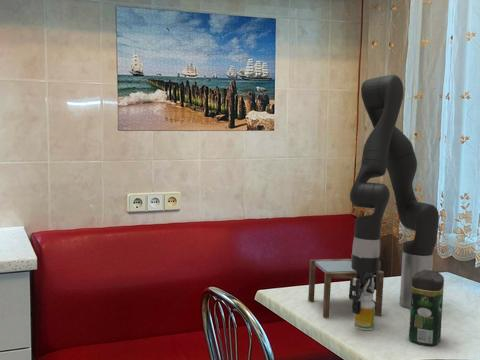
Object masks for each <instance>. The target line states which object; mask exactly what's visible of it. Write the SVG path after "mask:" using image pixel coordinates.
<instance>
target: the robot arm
mask: <svg viewBox="0 0 480 360" xmlns="http://www.w3.org/2000/svg"><path fill="white" fill-rule="evenodd" d="M360 92H361V93H360V94H361V99H362V102H363V105H364V108H365V111H366V112H367V115H368V117H369V120H370V122H371V124H372V127H373V130H371V132H370V133H369V135H368V137H367V138H366V140H365V143H364V145H363V150H362V156H361V163H360V168H359V171H358V173H357V176H356V178H355V179H354V182H353V184H352V186H351V190H350V193H349V199H350V202H351V204H352V205H353V206H354V207H357V208H365V209H374V211H373V213H372V214H365V215H359V216H357V217H356V219H355V221H354V235H353V241H352V265H351V267H352V269H353V270H355V271H356V272H357V273H356V277H355V278H352V277H351V278H349V291H348V299H349V300H352V306H351V307H352V309H351V313H353V314H354V315H355V314H360V311H361V299H362V296H363V294H365V292H368V293H371V294H373V295H374V294H375V293H376V290H377V278H378V270H379V261H380V256H381V255H380V254H381V228H382V222H383V217H384V214H385V211H386V209H387V206H388V204H389V200H390V198H391V197H390V193H391V192H390V189H389V187H388V186H387V185H386V184H385V183H378V182H368V181H369V180H370V179H373V178H379V177H382V176H384V175H386V172H387V173H388V177H389V180H390V183H391V187H392V191H393V194H394V199H395V205H396V210H397V214H398V219H399V222H400V223H401V225H402V226H403V227H404V228H406V229H407V230H410V231H415V233H414V238H413V239H412V240H407V241H404V242H403V245H402V259H401V272H400V273H401V275H400V276H401V277H400V289H399V291H400V292H399V293H400V294H399V304H400V305H401V306H402V307H404V308H406V309H407V308H408V309H410V310H411V290H412V277H413V276H414V275H415V274H416V273H417V272H420V271H423V270H431V271H433V263H434V262H433V261H434V260H433V259H434V250H435V248H436V246H437V240H438V234H439V233H438V232H439V225H440V215H439V211H438V209H437V207H436V206H435V205H433V204H432V203H431V204H430V203H425V202H420V201H418V199H417V197H416V195H415V191H414V186H413V182H414V179H415V175H416V173H417V169H418V168H417V167H418V160H417V156H416V153H415V150H414V146H413V144H412V141H411V140H410V139H409V138H408V137H407V136H406V135H405V134H404V133H403V132H402V131H401V130H400V129H399V128H398V127H397V126H396V125H397V121H398V118H399V114H400V111H401V107H402V104H403V103H402V102H403V99H404V92H405V91H404V84H403V82H402V79H401V78H400V77H399V76H398V75H395V74H388V75H383V76H377V77H371V78H368V79H366V80H364V81H363V82H362V84H361V88H360ZM359 293H360V294H359ZM373 300H374V299H373ZM373 300H372V301H373Z"/></svg>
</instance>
